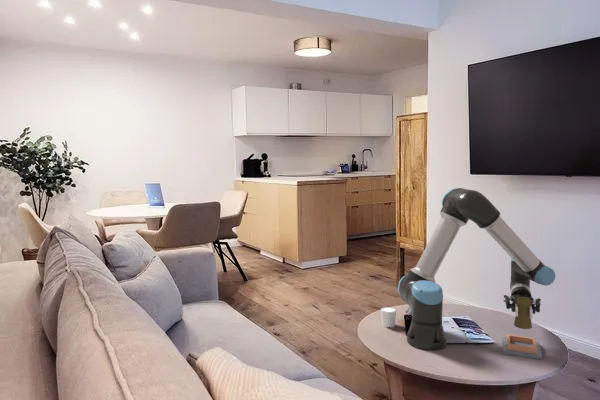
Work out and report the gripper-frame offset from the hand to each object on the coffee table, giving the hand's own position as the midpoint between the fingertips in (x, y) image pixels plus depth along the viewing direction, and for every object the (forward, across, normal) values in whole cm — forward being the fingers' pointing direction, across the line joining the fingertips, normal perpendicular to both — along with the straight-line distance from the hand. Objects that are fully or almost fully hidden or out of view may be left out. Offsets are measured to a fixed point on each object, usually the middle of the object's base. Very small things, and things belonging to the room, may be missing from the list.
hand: (524, 313), depth 160 cm
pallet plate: (-5, 0, -16) cm, 17 cm away
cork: (-5, 0, -7) cm, 9 cm away
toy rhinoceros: (-25, +41, -16) cm, 51 cm away
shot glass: (-10, +52, -16) cm, 56 cm away
